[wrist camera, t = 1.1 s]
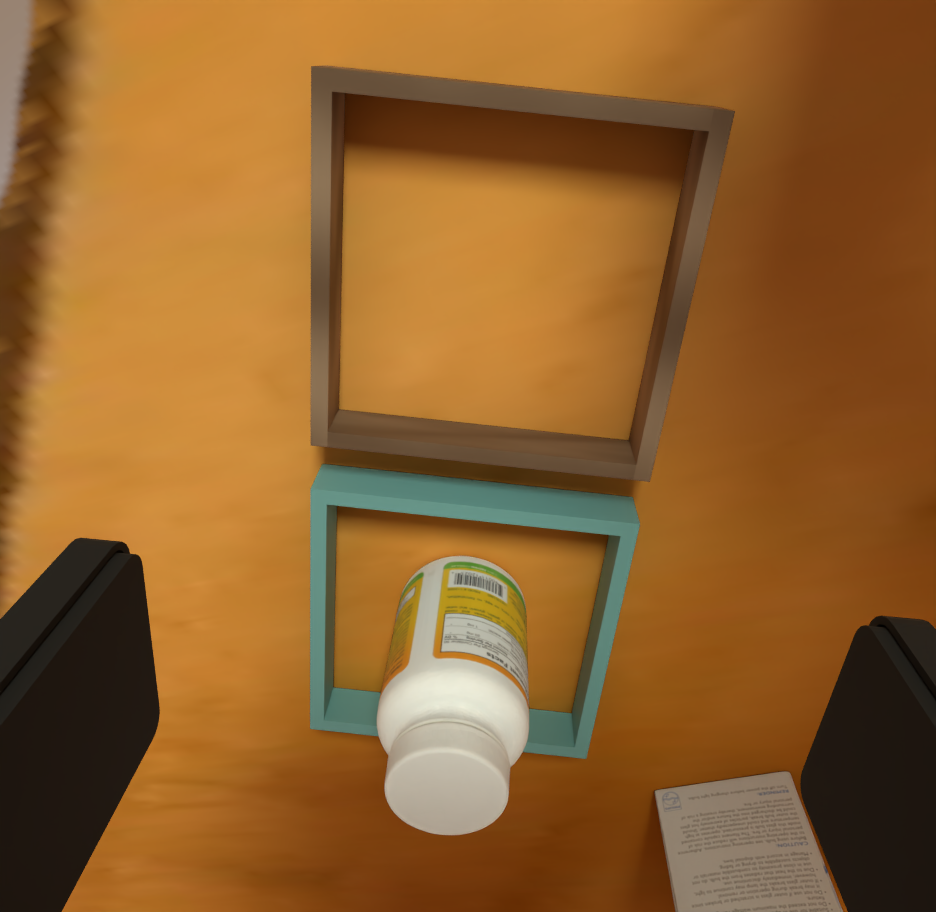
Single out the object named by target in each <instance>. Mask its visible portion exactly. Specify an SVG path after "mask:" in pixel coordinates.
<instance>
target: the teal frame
mask: <svg viewBox="0 0 936 912" xmlns="http://www.w3.org/2000/svg"><path fill="white" fill-rule="evenodd" d="M337 506H345V507H354V508H364V509H373V510H382V511H392V512H401V513H410V514H419V515H429V516H438V517H447V518H457V519H466V520H475V521H484V522H494V523H503V524H512V525H522V526H531V527H540V528H549V529H559V530H568V531H577V532H587V533H596V534H605V535H609V538H608V543H607V547H606V552H605V557H604V562H603V567H602V571H601V576H600V581H599V586H598V590H597V595H596V600H595V605H594V609H593V614H592V619H591V624H590V628H589V633H588V638H587V643H586V648H585V652H584V657H583V662H582V667H581V671H580V676H579V681H578V686H577V690H576V695H575V700H574V705H573V709H572V713H564V712H555V711H546V710H536V709H529V735H528V739H527V743H526V746H525V748H524V750H523V752H528V753H537V754H546V755H556V756H565V757H574V758H583V759H586V757H587V753H588V749H589V744H590V740H591V736H592V731H593V727H594V723H595V718H596V714H597V710H598V705H599V701H600V696H601V692H602V688H603V683H604V679H605V675H606V670H607V666H608V662H609V657H610V653H611V649H612V644H613V640H614V636H615V631H616V627H617V622H618V618H619V614H620V609H621V605H622V601H623V596H624V592H625V588H626V583H627V579H628V575H629V570H630V566H631V562H632V557H633V553H634V548H635V544H636V540H637V535H638V531H639V527H640V522H639V519H638V515H637V511H636V507H635V504H634V500H633V497H628V496H618V495H609V494H600V493H590V492H581V491H572V490H562V489H553V488H544V487H535V486H525V485H516V484H507V483H497V482H488V481H479V480H469V479H460V478H451V477H442V476H432V475H423V474H414V473H404V472H395V471H386V470H376V469H367V468H358V467H349V466H339V465H330V464H322V466H321V468H320V470H319V472H318V474H317V476H316V478H315V481H314V483H313V485H312V487H311V571H310V729H316V730H325V731H335V732H344V733H353V734H362V735H371V736H379V735H378V730H377V712H378V705H379V699H380V695H381V693H380V692H370V691H361V690H352V689H343V688H334V687H333V677H334V626H335V575H336V525H337Z"/></svg>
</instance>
